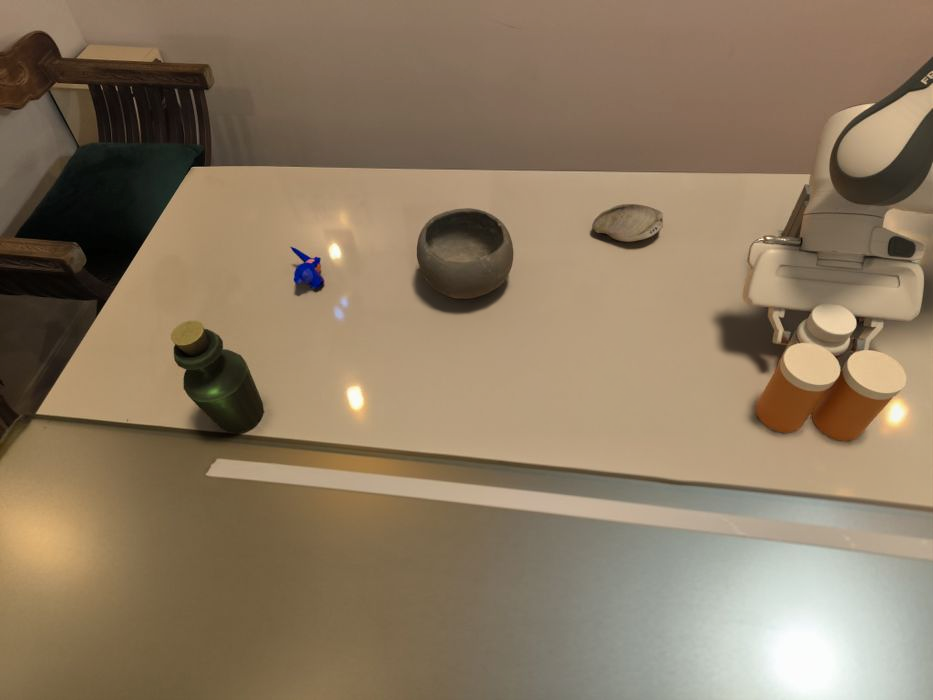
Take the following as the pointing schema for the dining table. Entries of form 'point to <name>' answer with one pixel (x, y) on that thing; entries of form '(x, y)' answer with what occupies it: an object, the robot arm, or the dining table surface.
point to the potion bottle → (216, 378)
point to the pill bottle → (826, 329)
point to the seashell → (629, 222)
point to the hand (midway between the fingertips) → (818, 348)
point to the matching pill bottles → (829, 390)
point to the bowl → (465, 252)
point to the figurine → (308, 270)
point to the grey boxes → (797, 214)
